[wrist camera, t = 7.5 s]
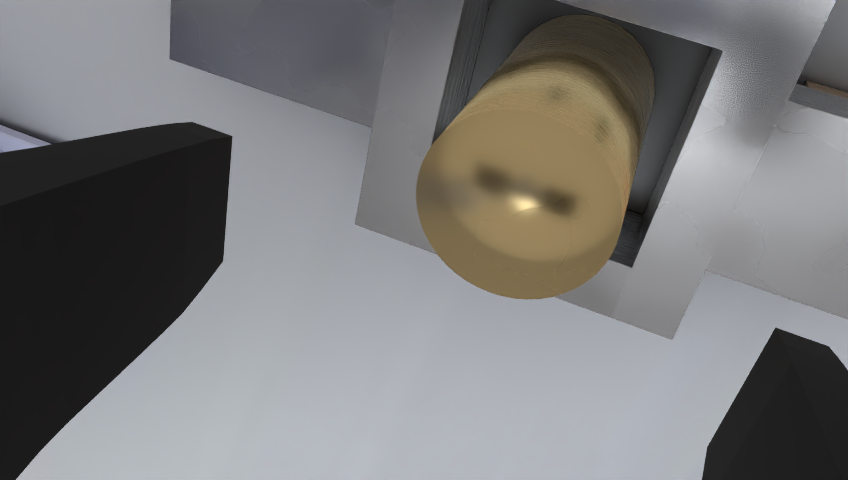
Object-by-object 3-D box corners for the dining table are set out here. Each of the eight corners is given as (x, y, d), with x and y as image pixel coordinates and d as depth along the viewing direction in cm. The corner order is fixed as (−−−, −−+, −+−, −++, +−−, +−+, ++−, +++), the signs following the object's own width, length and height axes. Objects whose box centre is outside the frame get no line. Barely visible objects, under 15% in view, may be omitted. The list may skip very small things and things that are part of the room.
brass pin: (490, 133, 18) (399, 259, 13) (526, -5, 16) (438, 80, 11) (625, 177, 18) (583, 326, 13) (677, 40, 16) (653, 150, 11)
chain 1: (195, 111, 21) (167, 127, 20) (208, -199, 17) (175, -198, 16) (678, 281, 18) (675, 308, 17) (824, -32, 14) (830, -19, 13)
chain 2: (392, 181, 20) (354, 224, 18) (456, -131, 16) (416, -121, 14) (928, 368, 17) (954, 442, 15) (1156, 59, 13) (1228, 104, 12)
